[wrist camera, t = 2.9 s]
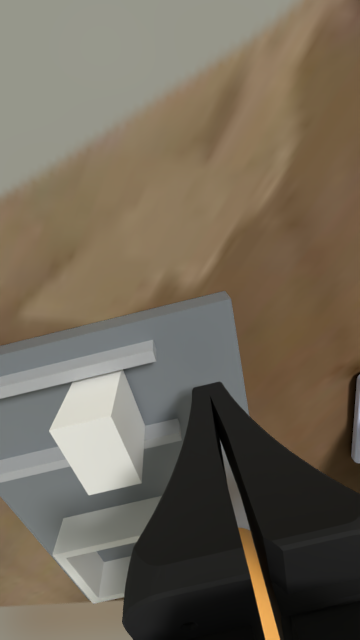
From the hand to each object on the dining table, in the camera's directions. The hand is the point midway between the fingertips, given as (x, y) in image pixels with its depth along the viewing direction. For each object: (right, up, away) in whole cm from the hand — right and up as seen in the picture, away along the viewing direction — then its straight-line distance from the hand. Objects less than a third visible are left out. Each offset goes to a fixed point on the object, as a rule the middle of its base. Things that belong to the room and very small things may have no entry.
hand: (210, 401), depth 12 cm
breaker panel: (-4, -7, +6) cm, 10 cm away
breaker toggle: (-5, -1, +1) cm, 5 cm away
